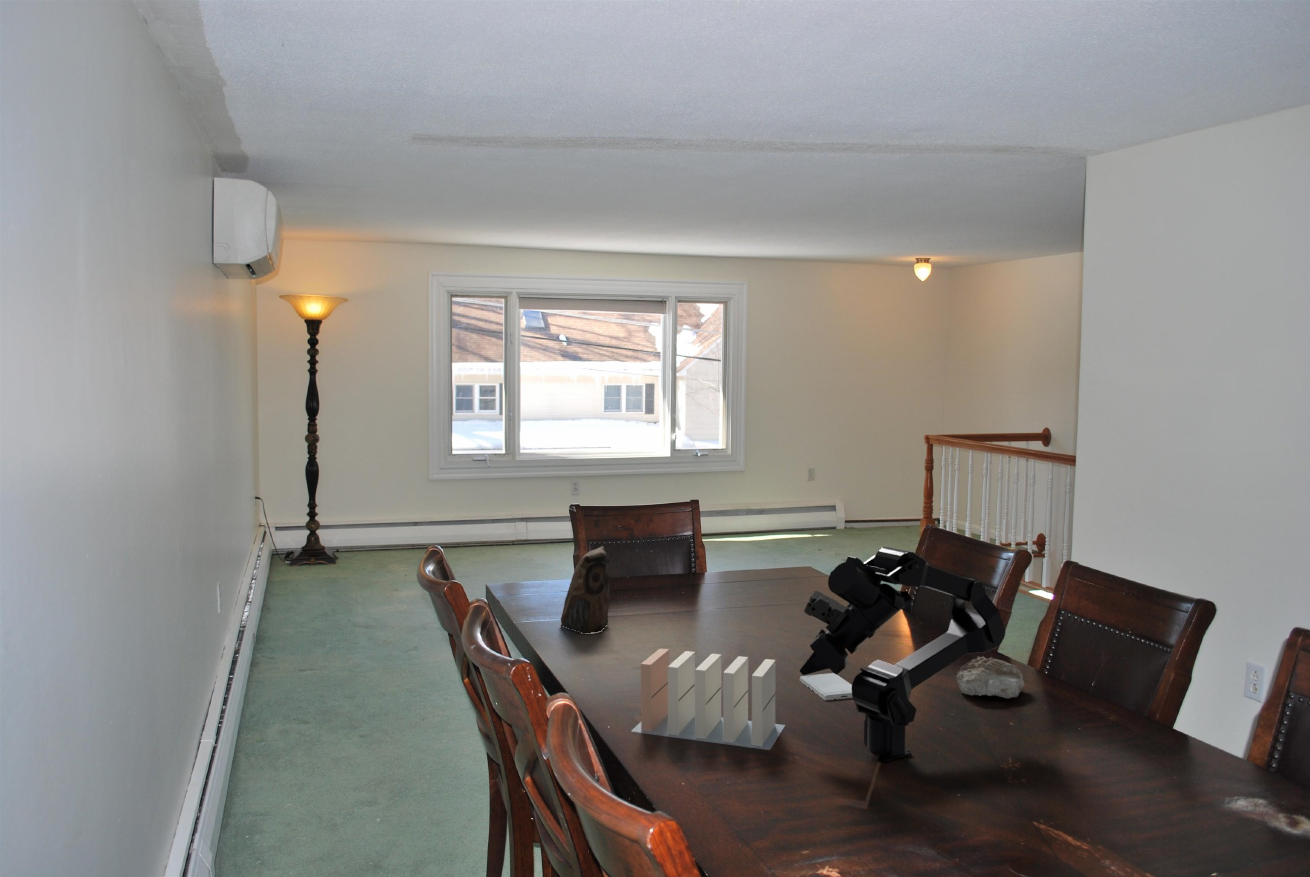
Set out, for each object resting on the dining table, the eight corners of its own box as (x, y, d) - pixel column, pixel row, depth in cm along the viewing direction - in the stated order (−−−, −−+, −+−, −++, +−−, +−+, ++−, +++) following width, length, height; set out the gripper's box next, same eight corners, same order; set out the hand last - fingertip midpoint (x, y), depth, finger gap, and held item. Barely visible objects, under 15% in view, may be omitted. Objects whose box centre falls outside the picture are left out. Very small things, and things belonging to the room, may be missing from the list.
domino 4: (748, 722, 172) (748, 657, 171) (733, 742, 162) (733, 673, 162) (738, 721, 172) (738, 656, 172) (723, 741, 163) (723, 672, 162)
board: (785, 729, 171) (785, 725, 171) (769, 754, 159) (769, 749, 159) (654, 713, 179) (654, 708, 179) (630, 735, 168) (630, 731, 168)
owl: (604, 620, 248) (604, 543, 246) (624, 631, 236) (624, 551, 235) (559, 625, 242) (558, 547, 241) (577, 638, 231) (576, 556, 229)
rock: (985, 694, 181) (972, 643, 186) (951, 707, 188) (940, 657, 193) (1041, 697, 187) (1027, 647, 192) (1006, 709, 194) (994, 661, 199)
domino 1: (669, 712, 177) (669, 649, 176) (650, 731, 168) (650, 664, 167) (660, 711, 178) (659, 648, 177) (641, 730, 168) (640, 663, 167)
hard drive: (799, 676, 198) (825, 694, 186) (835, 672, 200) (863, 691, 188) (799, 683, 198) (825, 703, 186) (835, 680, 200) (863, 699, 188)
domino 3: (721, 719, 174) (721, 654, 173) (705, 738, 164) (705, 670, 163) (711, 718, 174) (711, 653, 173) (695, 737, 165) (695, 669, 164)
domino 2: (695, 716, 175) (695, 651, 174) (677, 735, 166) (677, 667, 165) (685, 714, 176) (685, 650, 175) (667, 734, 167) (667, 666, 166)
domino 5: (775, 725, 170) (775, 659, 169) (762, 746, 161) (762, 676, 160) (765, 724, 171) (765, 658, 170) (751, 745, 161) (751, 675, 161)
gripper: (842, 567, 169) (780, 623, 173) (824, 589, 151) (755, 651, 156) (887, 615, 166) (823, 670, 171) (874, 643, 149) (803, 704, 153)
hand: (801, 672), depth 163 cm, fingers closed
